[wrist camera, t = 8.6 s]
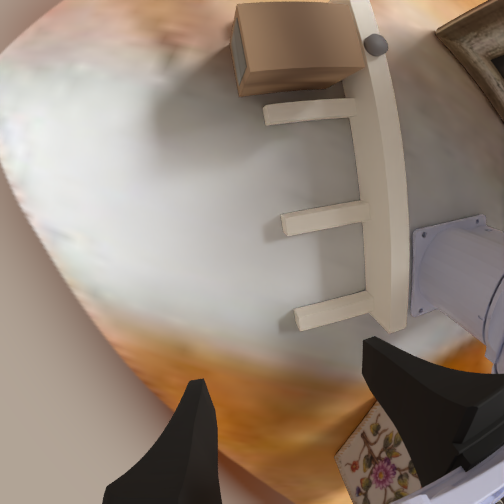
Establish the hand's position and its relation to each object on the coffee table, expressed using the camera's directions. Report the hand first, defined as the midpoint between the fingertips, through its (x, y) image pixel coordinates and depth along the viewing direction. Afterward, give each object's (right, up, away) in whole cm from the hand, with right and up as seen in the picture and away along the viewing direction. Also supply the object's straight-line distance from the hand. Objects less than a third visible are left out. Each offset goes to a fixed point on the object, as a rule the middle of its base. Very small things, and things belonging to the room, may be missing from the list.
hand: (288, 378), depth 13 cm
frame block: (0, +18, +5) cm, 19 cm away
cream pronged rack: (+3, +12, +7) cm, 14 cm away
